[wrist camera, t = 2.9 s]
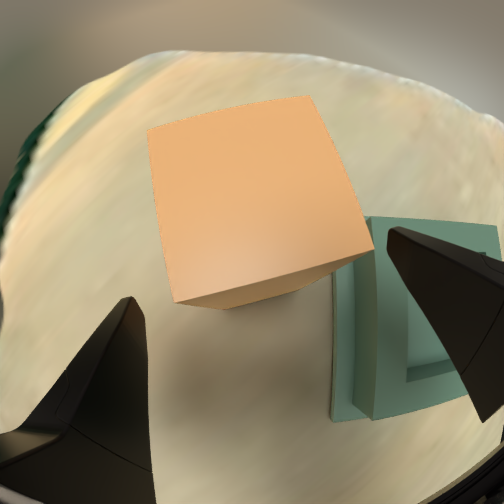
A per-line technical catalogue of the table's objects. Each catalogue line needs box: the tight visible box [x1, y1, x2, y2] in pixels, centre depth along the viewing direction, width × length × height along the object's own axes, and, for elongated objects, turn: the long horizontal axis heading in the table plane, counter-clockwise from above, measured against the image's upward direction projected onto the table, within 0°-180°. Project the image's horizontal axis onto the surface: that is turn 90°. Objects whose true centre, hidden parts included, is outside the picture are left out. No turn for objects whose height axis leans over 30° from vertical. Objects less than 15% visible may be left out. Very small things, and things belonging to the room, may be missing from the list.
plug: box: [147, 95, 375, 310], centre depth 13 cm, size 5×5×12 cm
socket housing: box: [330, 216, 502, 423], centre depth 16 cm, size 14×14×4 cm
